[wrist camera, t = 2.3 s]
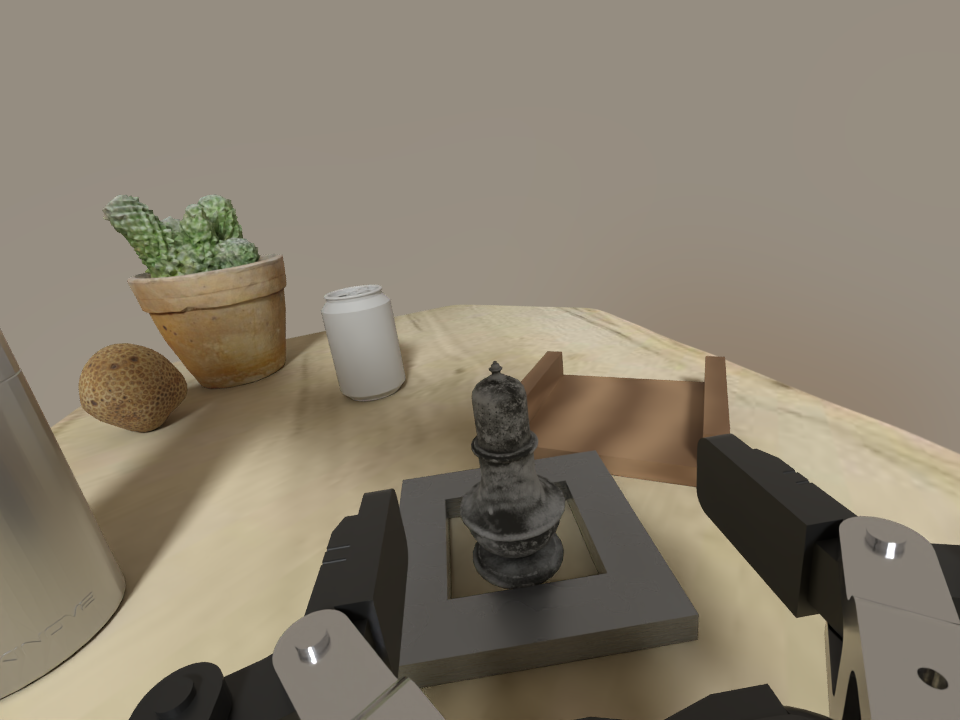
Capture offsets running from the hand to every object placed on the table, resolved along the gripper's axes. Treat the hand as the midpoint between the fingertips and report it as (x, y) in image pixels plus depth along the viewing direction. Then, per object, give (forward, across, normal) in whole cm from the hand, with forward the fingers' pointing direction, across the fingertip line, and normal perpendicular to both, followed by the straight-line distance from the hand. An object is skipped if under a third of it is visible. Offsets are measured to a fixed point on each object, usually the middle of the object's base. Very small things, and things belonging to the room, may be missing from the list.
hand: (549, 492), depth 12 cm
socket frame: (+12, 0, +12) cm, 17 cm away
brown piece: (+24, -10, +12) cm, 29 cm away
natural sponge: (+39, +38, +12) cm, 55 cm away
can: (+40, +12, +12) cm, 44 cm away
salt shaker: (+12, 0, +12) cm, 17 cm away
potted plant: (+55, +33, +11) cm, 65 cm away
